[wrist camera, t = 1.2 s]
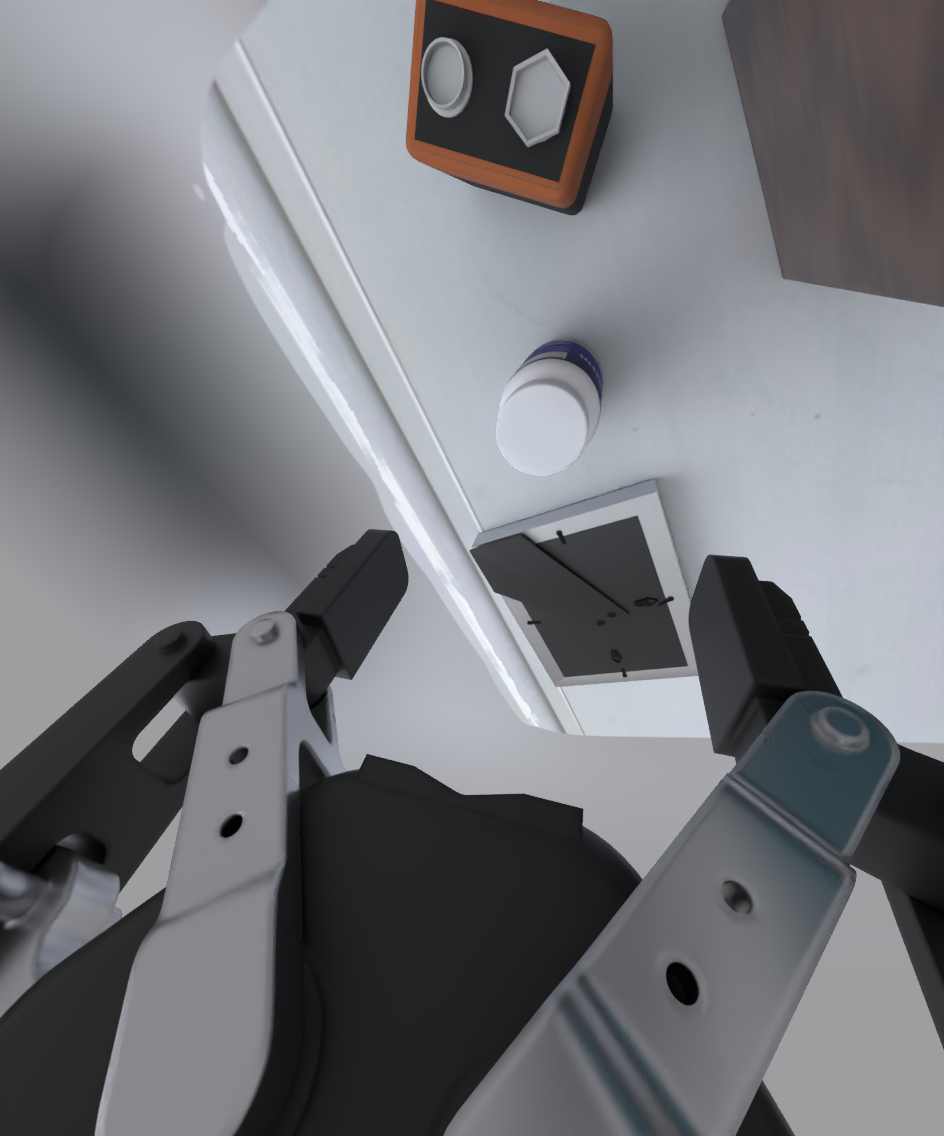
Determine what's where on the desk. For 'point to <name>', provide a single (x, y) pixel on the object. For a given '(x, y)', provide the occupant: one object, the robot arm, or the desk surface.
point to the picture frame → (595, 588)
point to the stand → (848, 138)
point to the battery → (511, 96)
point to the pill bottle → (550, 408)
